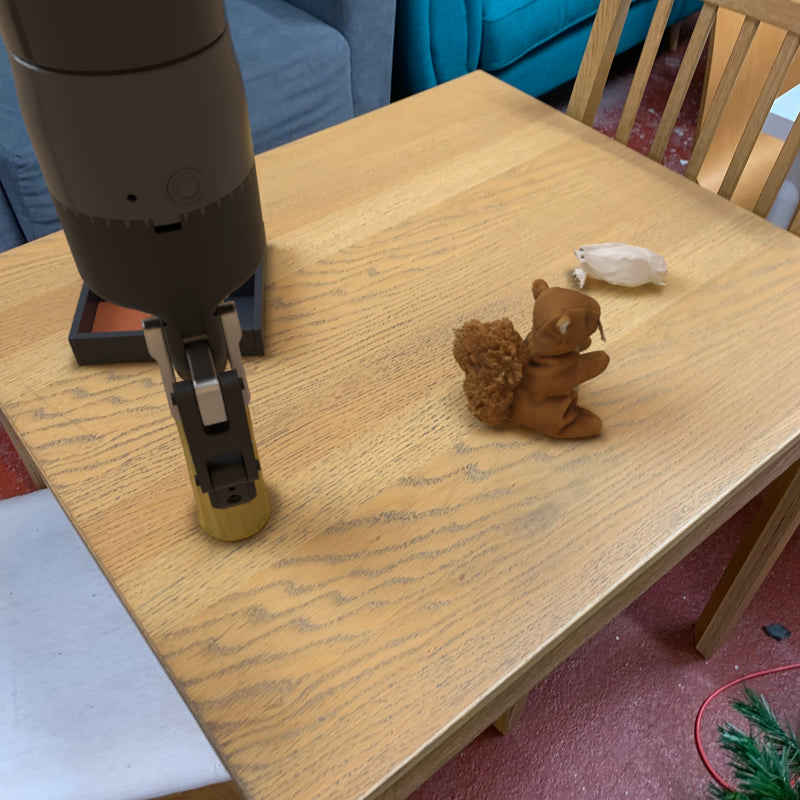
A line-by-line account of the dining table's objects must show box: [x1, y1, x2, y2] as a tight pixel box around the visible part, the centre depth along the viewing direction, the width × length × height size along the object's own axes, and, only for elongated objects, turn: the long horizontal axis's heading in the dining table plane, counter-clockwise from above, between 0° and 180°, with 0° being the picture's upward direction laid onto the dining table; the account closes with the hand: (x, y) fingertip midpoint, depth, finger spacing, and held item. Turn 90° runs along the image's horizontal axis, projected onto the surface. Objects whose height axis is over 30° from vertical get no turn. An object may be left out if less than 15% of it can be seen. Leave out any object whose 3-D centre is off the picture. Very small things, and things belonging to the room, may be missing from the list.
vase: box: [174, 404, 272, 542], centre depth 60 cm, size 6×6×14 cm
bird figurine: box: [571, 242, 669, 290], centre depth 85 cm, size 5×7×10 cm
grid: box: [67, 220, 268, 366], centre depth 82 cm, size 18×18×4 cm
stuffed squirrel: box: [451, 278, 611, 439], centre depth 69 cm, size 10×14×13 cm
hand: (218, 435), depth 40 cm, fingers open, 8 cm apart
